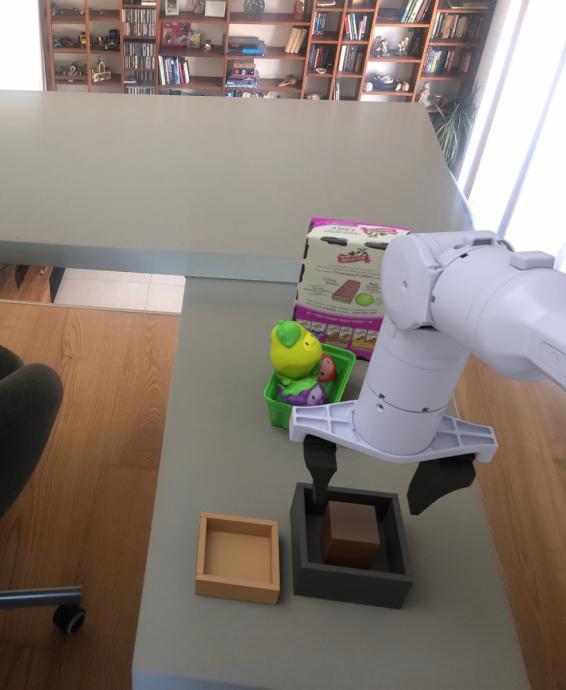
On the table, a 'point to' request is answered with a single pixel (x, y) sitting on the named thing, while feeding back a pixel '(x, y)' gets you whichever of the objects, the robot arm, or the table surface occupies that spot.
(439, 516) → the table surface
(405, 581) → the black basket
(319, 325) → the candy bar box
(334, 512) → the walnut block
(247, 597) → the kraft box
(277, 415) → the fruit basket
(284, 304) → the table surface
